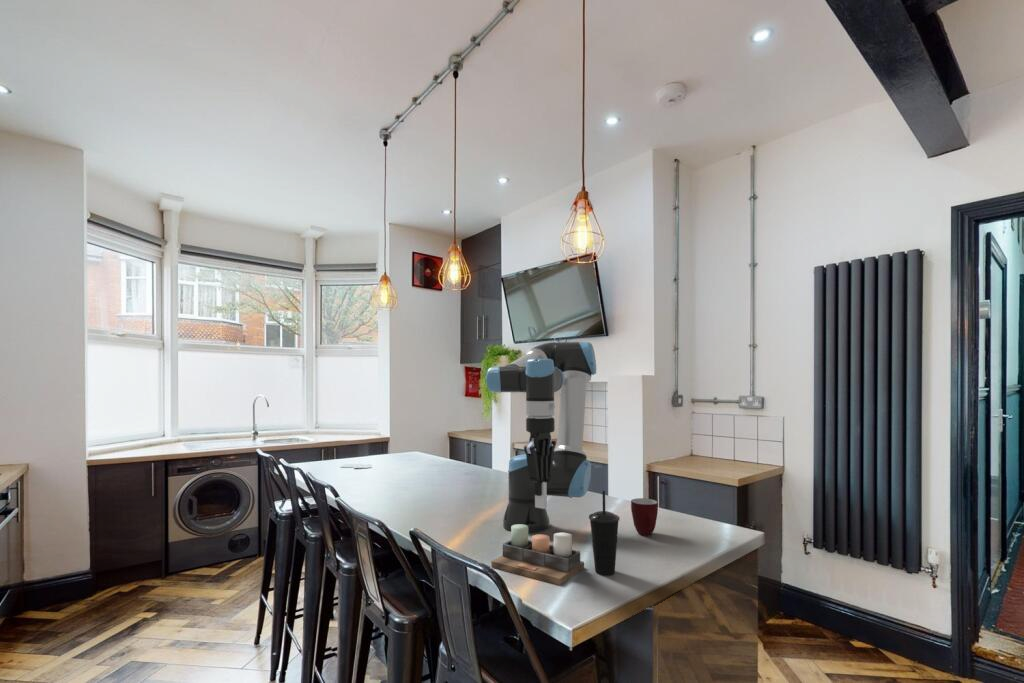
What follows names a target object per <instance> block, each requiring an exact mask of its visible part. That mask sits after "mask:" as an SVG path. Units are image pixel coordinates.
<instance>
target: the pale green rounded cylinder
mask: <svg viewBox="0 0 1024 683" xmlns="http://www.w3.org/2000/svg"><path fill="white" fill-rule="evenodd" d="M510 540H511V546H515V547H520V548H524V547H526V546H528V540H529V533H528V526H527V525H523V524H516V525H512V526H511V531H510Z"/></svg>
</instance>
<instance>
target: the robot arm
mask: <svg viewBox="0 0 1024 683" xmlns="http://www.w3.org/2000/svg"><path fill="white" fill-rule="evenodd" d="M596 374H597V360H596V354H595V350H594V346H593V344H592V343H591V342H589V341H588V342H587V341H580V340H579V341H565V342H564V341H563V342H562V341H561V342H560V341H559V342H555V341H554V342H553V341H552V342H547V343H545V342H544V343H543V344H540V345H536V346H534V347H531V348H530V349H527V350H526V351H525V352H524V353H523V355H522V356H521V357H519V358H517V359H515V360H514V361H512V362H510V363H508V364H506V365H504V366H499V365H497V366H491V367H489V368H488V369H487V371H486V375H485V376H486V377H485V384H486V387H487V390H488V391H490V392H492V393H499V394H500V393H525V415H526V416H527V418H526V419H525V424H526V425H525V430H526V432H527V433H529V441H528V442H529V443H528V445H524V446H523V451H524V454H518V455H515V456H512V457H510V459H509V461H508V470H507V473H508V503H507V506H506V510H505V513H504V515H503V517H502V518H503V519H502V521H503V522H502V525H503V526H502V527H503V528H504V529H505V530H508V531H510V532H511V526H512V525H516V524H523V525H527V526H528V534H529V533H538V532H543V531H545V530H546V531H547V530H548V529H549V528H550V517H549V515H548V511H547V505H548V502H547V501H548V497H547V496H551V497H561V498H562V497H565V498H569V499H572V498H583V497H584V496H585V495H586V494H587V492H588V491H589V490H588V489H589V486H590V483H591V476H592V472H591V471H592V463H591V461H590V460H588V459H587V456H588V455H587V454H586V452H584V451H583V446H584V445H583V444H584V443H583V442H584V429H585V414H586V397H587V396H586V395H587V384H588V383H590V382H591V380H592V376H594V375H596ZM558 391H560V400H559V411H558V425H557V434H556V440H552V436H551V433H553V432H555V426H556V425H555V422H556V420H555V418H554V416H555V408H556V406H555V393H556V392H558Z"/></svg>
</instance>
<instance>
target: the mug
mask: <svg viewBox="0 0 1024 683" xmlns="http://www.w3.org/2000/svg"><path fill="white" fill-rule="evenodd" d="M630 509H631V511H630V512H631V516H632V522H633V526H634V528H635V530H636V532H637V534H638V535H640V536H643V537H647V536H651V535H652V534H653V532H654V530H655V528H656V524H657V519H658V510H659V505H658V501H657V500H655V499H652V498H651V499H650V498H642V497H641V498H633V499H631V501H630Z"/></svg>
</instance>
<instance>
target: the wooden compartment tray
mask: <svg viewBox="0 0 1024 683" xmlns="http://www.w3.org/2000/svg"><path fill="white" fill-rule="evenodd" d="M490 565H491V568H493V569H497V570H500V571H504V572H509V573H513V574H515V575H519V576H520V575H521V576H524V577H528V578H532V579H535V580H539V581H543V582H546V583H550V584H555V585H558V586H561V585H563V583H565V582H566V581H568V580H570V579H571V578H573V577H574V576H575V575H576V574H578V573H580V571H582V570H583V569H585V562H584V561H582V560H581V551H580V550H576V549H572V556H570V557H569V558H564V557H559V556H555V555H554V544H550V550H549V551H547V552H546V553H542V552H537V551H533V550H532V540H529V539H528V546H526V547H524V548H520V547H515V546H511V539H510V540H508V541H506V542H504V543H502V555H501V556H499V557H497V558H495V559H493V560H491V564H490Z"/></svg>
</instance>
